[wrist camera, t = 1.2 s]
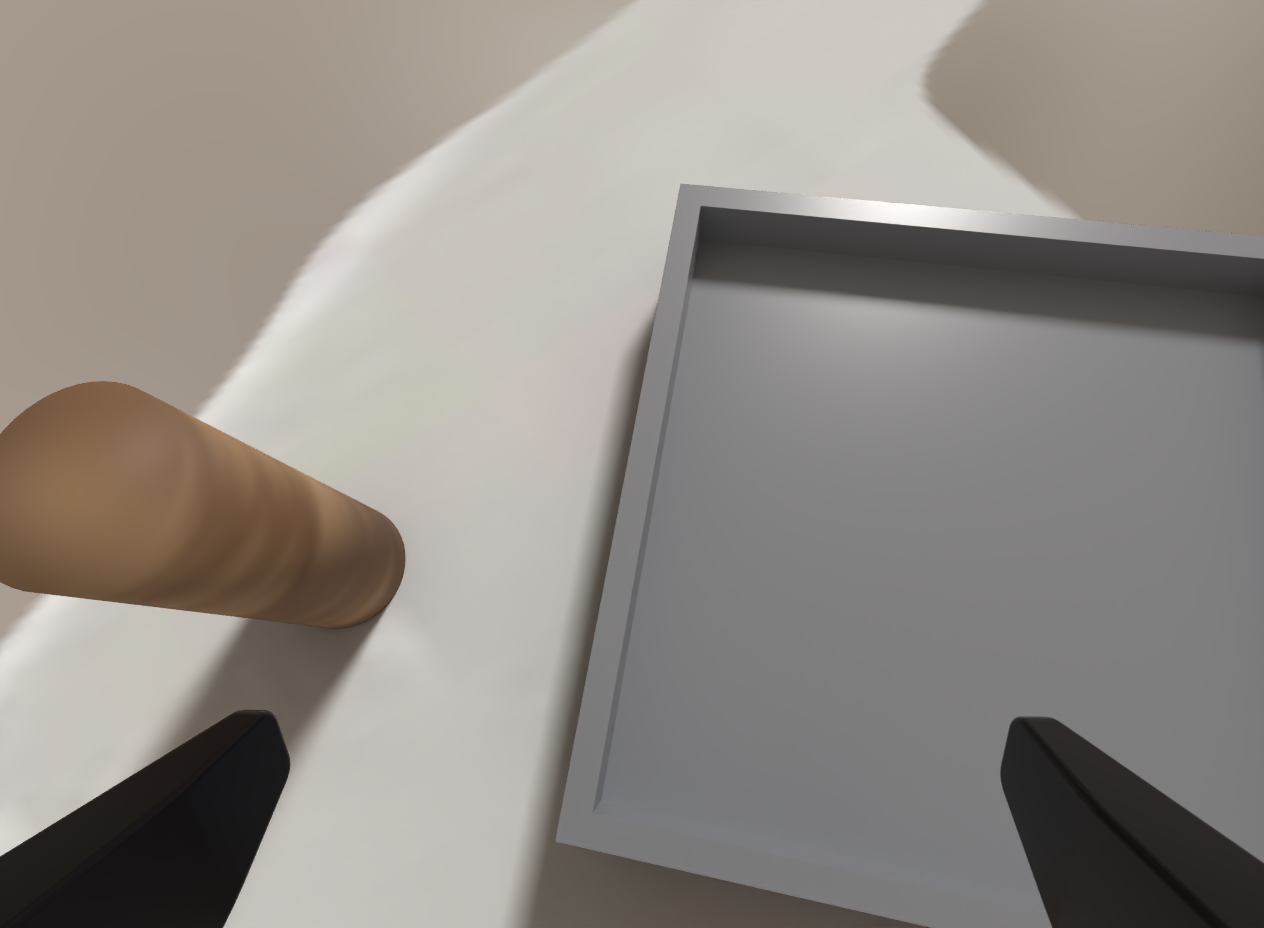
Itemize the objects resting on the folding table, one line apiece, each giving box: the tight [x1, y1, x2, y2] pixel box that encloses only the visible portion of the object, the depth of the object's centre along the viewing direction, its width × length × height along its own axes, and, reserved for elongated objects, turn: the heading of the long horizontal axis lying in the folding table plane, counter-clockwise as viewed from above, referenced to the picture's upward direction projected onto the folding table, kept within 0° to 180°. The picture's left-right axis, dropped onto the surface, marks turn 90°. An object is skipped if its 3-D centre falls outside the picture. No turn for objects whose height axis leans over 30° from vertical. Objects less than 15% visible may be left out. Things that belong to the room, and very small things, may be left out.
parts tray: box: [555, 184, 1264, 928], centre depth 20 cm, size 20×20×4 cm
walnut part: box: [0, 381, 405, 628], centre depth 18 cm, size 4×4×11 cm
